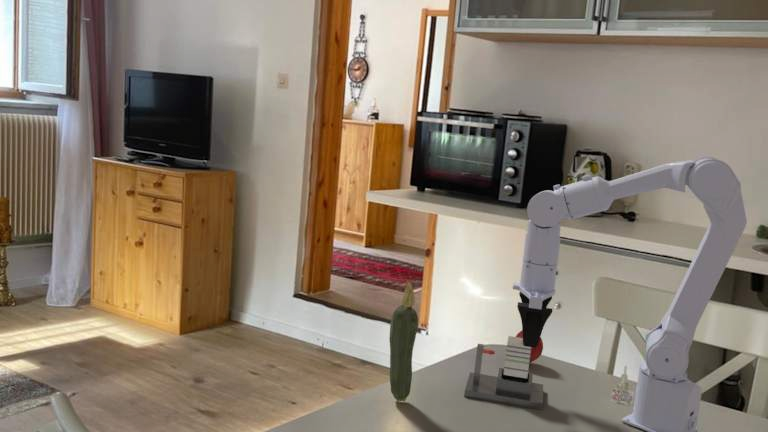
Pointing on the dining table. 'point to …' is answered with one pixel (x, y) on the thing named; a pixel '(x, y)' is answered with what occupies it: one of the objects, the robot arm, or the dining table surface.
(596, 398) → the dining table surface
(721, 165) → the robot arm
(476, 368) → the jack base
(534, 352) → the onion
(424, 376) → the dining table surface
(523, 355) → the column
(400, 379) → the vegetable
